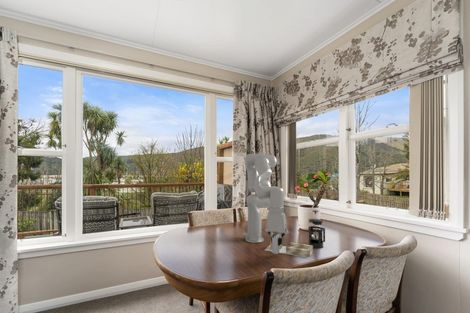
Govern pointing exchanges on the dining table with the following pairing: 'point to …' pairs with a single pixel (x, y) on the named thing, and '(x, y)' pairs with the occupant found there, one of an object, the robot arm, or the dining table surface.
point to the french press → (315, 243)
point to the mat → (282, 251)
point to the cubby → (299, 249)
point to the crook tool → (276, 244)
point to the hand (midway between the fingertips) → (276, 244)
